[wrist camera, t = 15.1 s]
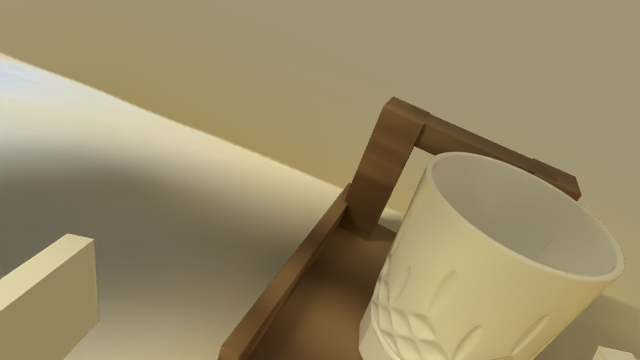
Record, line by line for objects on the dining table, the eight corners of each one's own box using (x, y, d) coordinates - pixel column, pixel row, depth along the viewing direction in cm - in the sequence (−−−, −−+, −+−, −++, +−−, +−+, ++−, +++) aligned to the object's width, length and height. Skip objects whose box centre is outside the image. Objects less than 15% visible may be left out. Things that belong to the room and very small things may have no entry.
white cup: (472, 479, 17) (633, 322, 12) (316, 359, 20) (397, 187, 15) (504, 355, 24) (620, 217, 19) (383, 275, 26) (455, 135, 21)
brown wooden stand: (484, 562, 16) (676, 427, 11) (209, 387, 18) (261, 208, 13) (495, 296, 29) (583, 180, 24) (335, 215, 32) (385, 93, 27)
